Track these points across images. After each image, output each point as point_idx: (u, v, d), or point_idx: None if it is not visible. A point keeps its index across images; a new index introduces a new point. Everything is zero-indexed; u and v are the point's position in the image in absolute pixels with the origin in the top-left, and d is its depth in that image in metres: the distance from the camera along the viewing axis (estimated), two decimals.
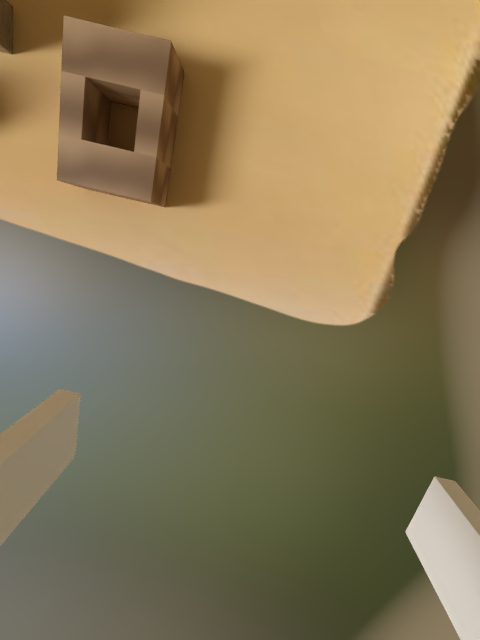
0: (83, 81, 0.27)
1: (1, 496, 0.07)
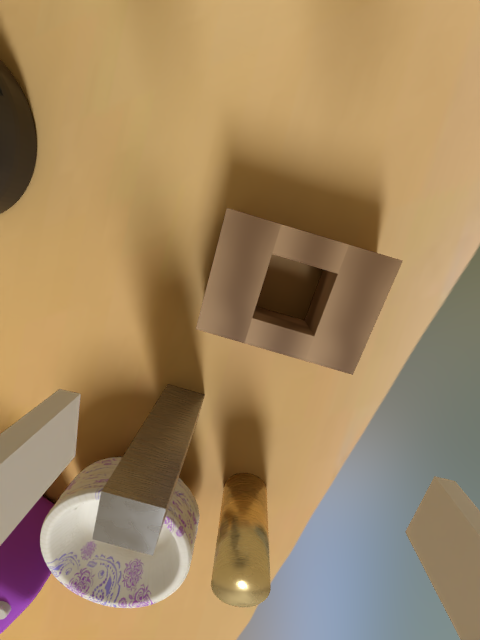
0: (256, 321, 0.24)
1: (1, 496, 0.07)
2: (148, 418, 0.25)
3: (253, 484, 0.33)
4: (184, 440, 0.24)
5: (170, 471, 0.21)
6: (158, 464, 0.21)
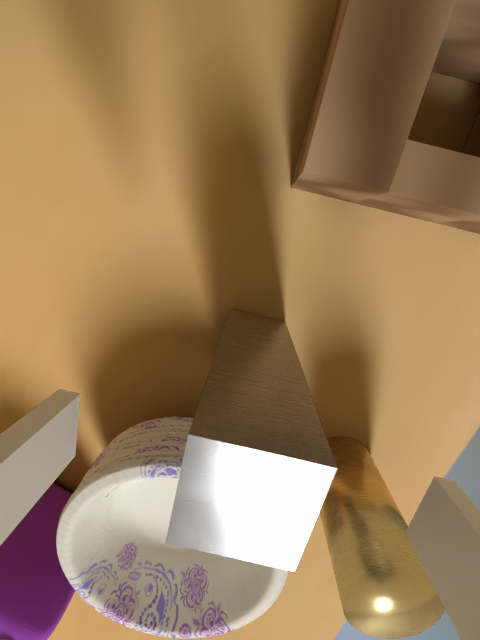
0: (414, 145, 0.13)
1: (1, 496, 0.07)
2: (223, 337, 0.15)
3: (358, 450, 0.23)
4: (293, 364, 0.14)
5: (301, 404, 0.11)
6: (273, 394, 0.11)
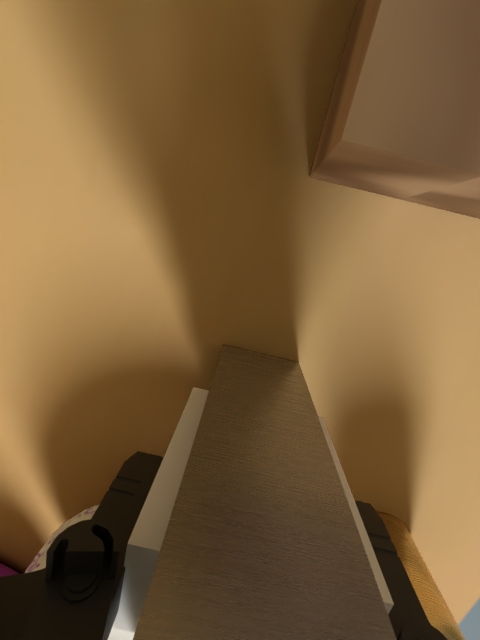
0: None
1: None
2: (207, 412, 0.09)
3: (398, 535, 0.17)
4: (325, 471, 0.08)
5: (364, 630, 0.05)
6: (300, 596, 0.05)
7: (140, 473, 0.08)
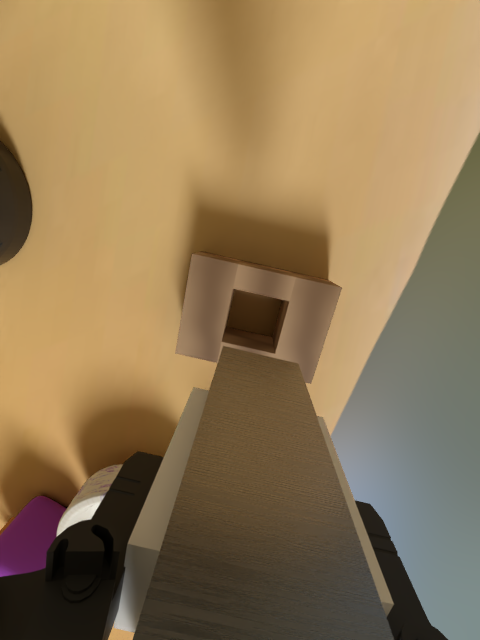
0: (225, 343, 0.28)
1: None
2: (206, 414, 0.09)
3: None
4: (324, 472, 0.08)
5: (362, 633, 0.05)
6: (299, 597, 0.05)
7: (140, 473, 0.08)
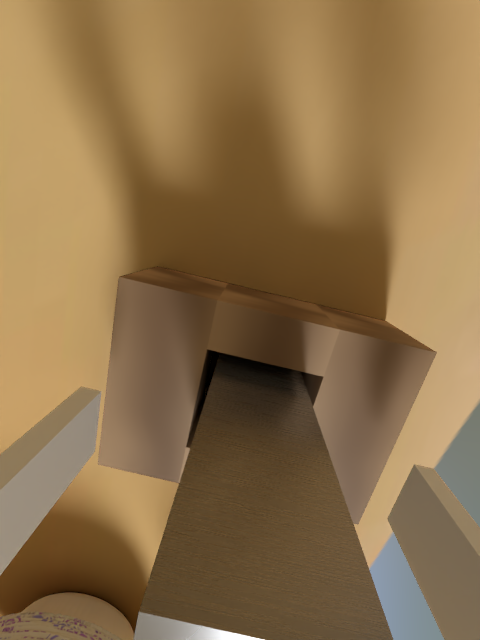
0: None
1: (33, 487, 0.08)
2: (215, 378, 0.12)
3: None
4: (307, 419, 0.11)
5: (326, 501, 0.07)
6: (284, 482, 0.07)
7: None
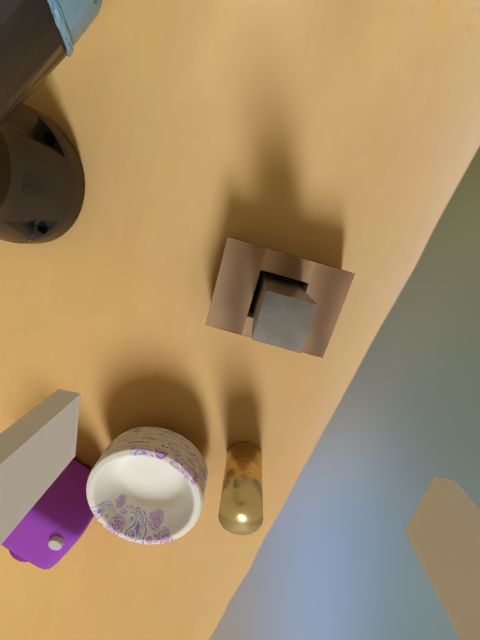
0: (250, 318, 0.32)
1: (1, 496, 0.07)
2: (265, 278, 0.30)
3: (251, 449, 0.41)
4: (301, 290, 0.28)
5: (305, 296, 0.25)
6: (293, 292, 0.25)
7: None
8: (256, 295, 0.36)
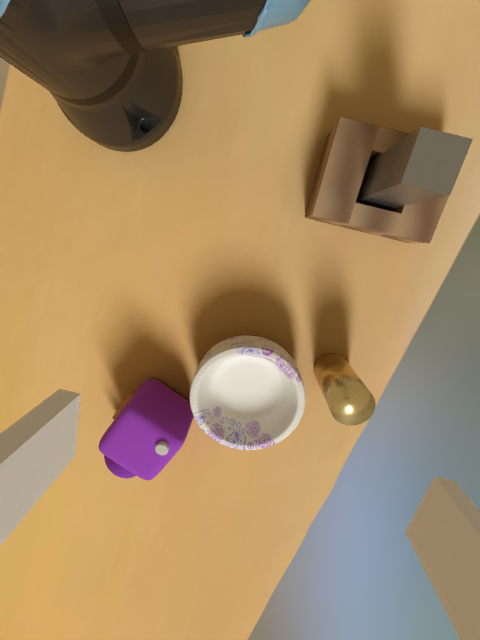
0: (358, 204, 0.32)
1: (1, 496, 0.07)
2: None
3: (341, 358, 0.41)
4: None
5: None
6: None
7: None
8: None
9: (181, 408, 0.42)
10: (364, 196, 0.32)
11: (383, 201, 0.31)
